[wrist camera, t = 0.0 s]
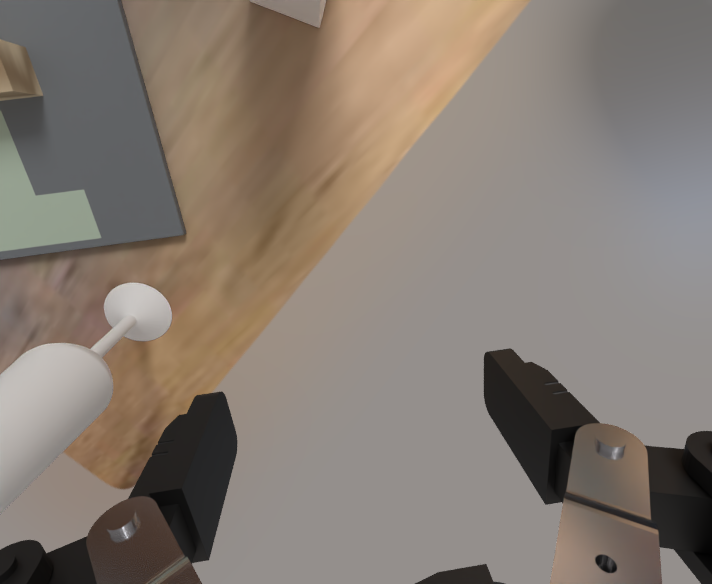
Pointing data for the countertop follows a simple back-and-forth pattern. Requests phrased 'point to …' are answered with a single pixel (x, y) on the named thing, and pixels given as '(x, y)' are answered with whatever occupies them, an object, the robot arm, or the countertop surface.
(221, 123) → the countertop surface
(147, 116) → the board
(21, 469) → the champagne flute
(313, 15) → the milk
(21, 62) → the t block
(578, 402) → the robot arm
